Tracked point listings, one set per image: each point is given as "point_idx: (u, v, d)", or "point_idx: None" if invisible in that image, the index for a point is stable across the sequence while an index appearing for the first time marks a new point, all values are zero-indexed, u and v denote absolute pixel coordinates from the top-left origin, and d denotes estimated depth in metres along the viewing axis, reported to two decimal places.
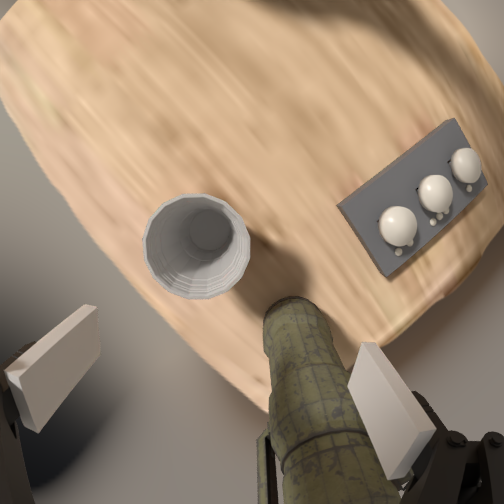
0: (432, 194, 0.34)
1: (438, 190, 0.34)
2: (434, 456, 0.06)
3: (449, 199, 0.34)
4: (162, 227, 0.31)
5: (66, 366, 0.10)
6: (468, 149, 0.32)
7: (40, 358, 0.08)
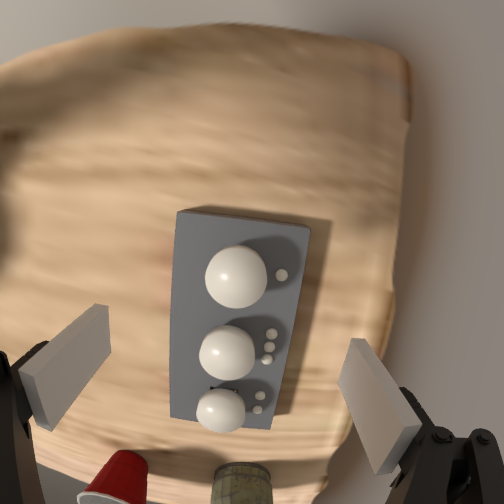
0: (219, 366, 0.26)
1: (222, 356, 0.26)
2: (420, 452, 0.06)
3: (246, 349, 0.26)
4: (96, 499, 0.28)
5: (78, 364, 0.10)
6: (213, 261, 0.24)
7: (54, 357, 0.09)
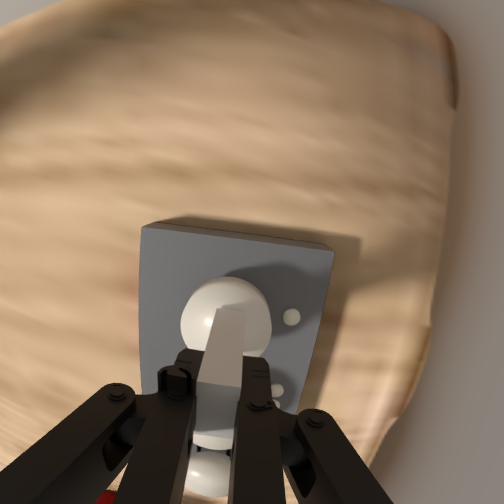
0: (205, 436, 0.18)
1: None
2: (237, 425, 0.08)
3: None
4: None
5: None
6: (192, 303, 0.16)
7: (222, 362, 0.11)
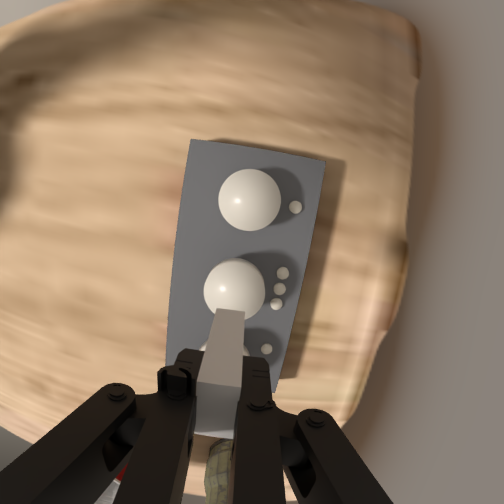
0: (225, 303, 0.25)
1: (229, 290, 0.25)
2: (237, 425, 0.08)
3: (256, 282, 0.24)
4: None
5: None
6: (228, 180, 0.24)
7: (222, 362, 0.11)
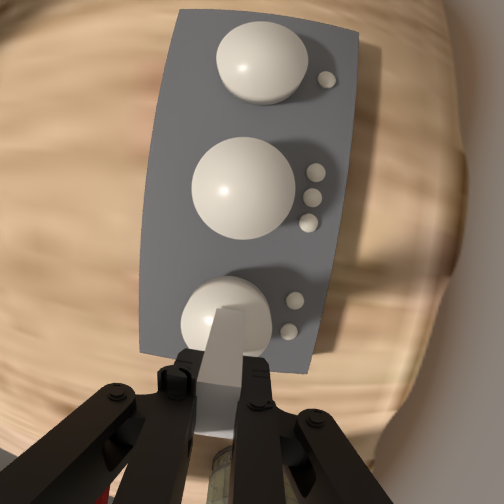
0: (228, 207, 0.15)
1: (234, 183, 0.14)
2: (237, 425, 0.08)
3: (279, 168, 0.14)
4: None
5: None
6: (231, 34, 0.14)
7: (222, 362, 0.11)
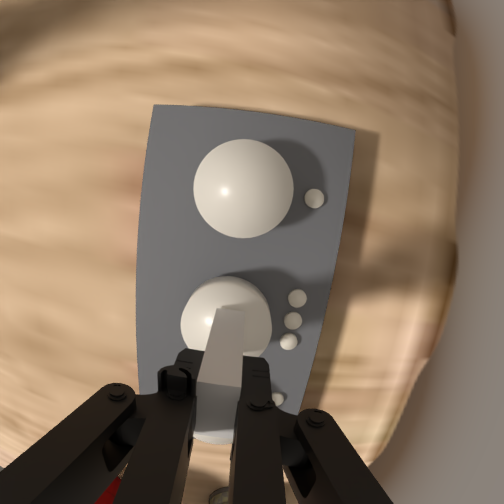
0: None
1: None
2: (237, 425, 0.08)
3: (257, 314, 0.16)
4: None
5: None
6: (208, 159, 0.15)
7: (222, 362, 0.11)
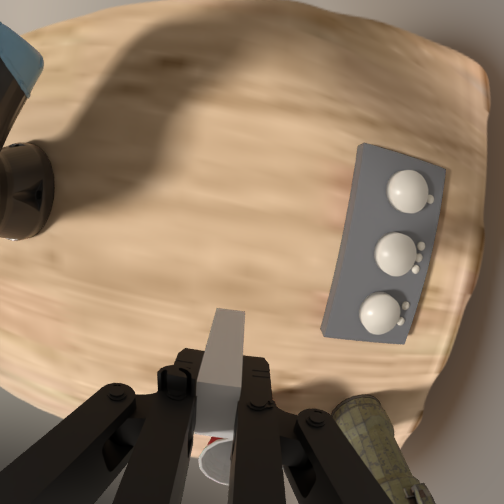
0: (392, 263, 0.32)
1: (395, 253, 0.32)
2: (237, 425, 0.08)
3: (411, 248, 0.32)
4: (212, 455, 0.33)
5: None
6: (398, 176, 0.30)
7: (222, 362, 0.11)
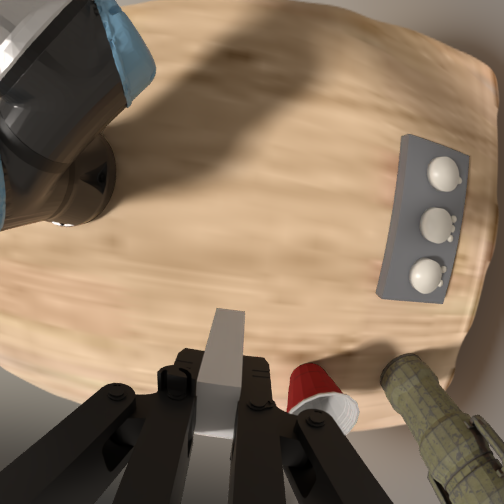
0: (435, 232, 0.37)
1: (437, 224, 0.37)
2: (237, 425, 0.08)
3: (449, 219, 0.36)
4: None
5: None
6: (437, 162, 0.35)
7: (222, 362, 0.11)
